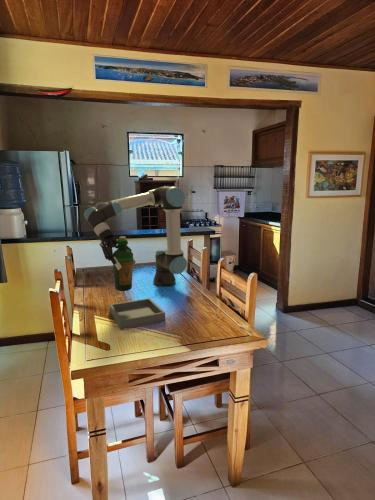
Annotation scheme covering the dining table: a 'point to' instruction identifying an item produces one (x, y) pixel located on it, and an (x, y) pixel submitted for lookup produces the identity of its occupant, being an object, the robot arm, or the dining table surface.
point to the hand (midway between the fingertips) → (127, 266)
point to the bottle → (123, 266)
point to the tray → (136, 313)
